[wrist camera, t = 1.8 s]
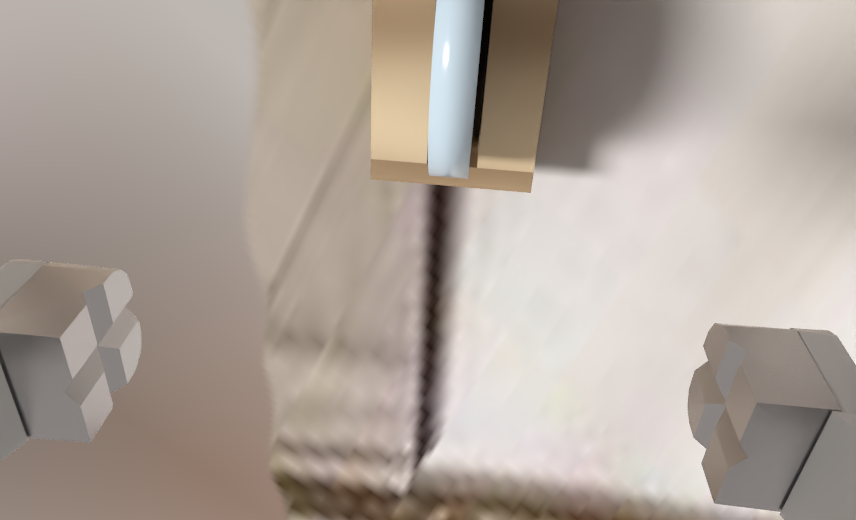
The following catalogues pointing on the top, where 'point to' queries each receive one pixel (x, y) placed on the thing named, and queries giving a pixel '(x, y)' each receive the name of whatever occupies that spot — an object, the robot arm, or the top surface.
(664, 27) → the top surface
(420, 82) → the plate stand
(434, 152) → the blue plate
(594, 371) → the top surface
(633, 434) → the top surface
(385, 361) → the top surface
